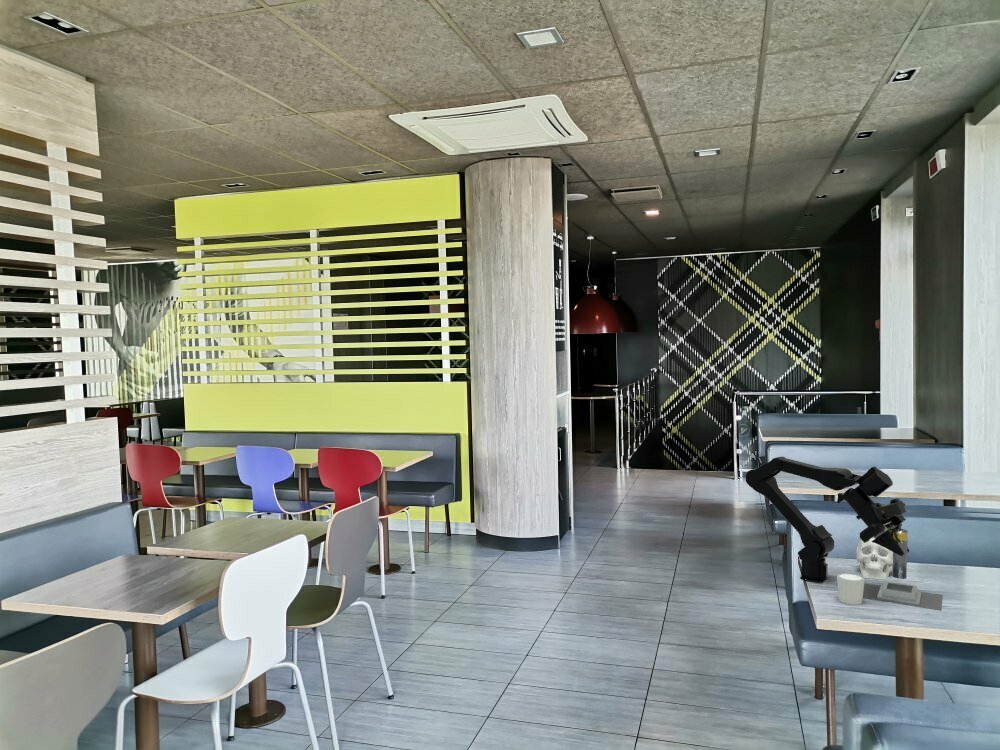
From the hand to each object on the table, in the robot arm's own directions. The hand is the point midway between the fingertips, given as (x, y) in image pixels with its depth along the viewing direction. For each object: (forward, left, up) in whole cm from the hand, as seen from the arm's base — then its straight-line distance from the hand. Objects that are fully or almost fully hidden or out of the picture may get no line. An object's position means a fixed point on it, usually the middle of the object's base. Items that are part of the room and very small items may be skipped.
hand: (905, 553), depth 198 cm
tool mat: (-2, +1, -13) cm, 13 cm away
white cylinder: (-12, -10, -13) cm, 20 cm away
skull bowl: (-9, +22, -13) cm, 27 cm away
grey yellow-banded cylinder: (-1, 0, -7) cm, 7 cm away
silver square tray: (-1, 0, -12) cm, 12 cm away
